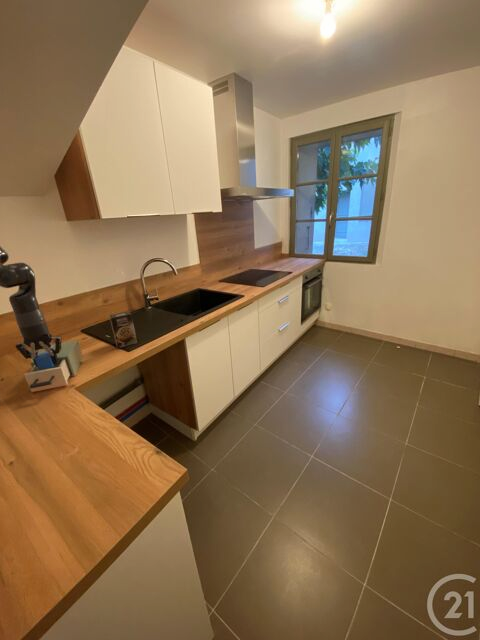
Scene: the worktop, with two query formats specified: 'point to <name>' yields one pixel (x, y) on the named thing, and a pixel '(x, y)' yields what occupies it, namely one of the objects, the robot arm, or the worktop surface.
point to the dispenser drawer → (48, 376)
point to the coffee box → (123, 329)
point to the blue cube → (44, 361)
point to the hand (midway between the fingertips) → (47, 364)
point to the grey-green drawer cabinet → (68, 355)
